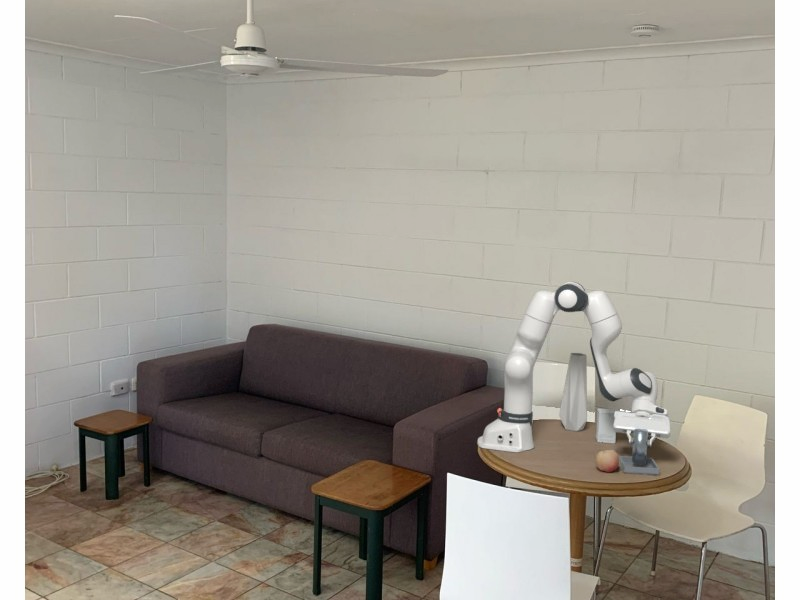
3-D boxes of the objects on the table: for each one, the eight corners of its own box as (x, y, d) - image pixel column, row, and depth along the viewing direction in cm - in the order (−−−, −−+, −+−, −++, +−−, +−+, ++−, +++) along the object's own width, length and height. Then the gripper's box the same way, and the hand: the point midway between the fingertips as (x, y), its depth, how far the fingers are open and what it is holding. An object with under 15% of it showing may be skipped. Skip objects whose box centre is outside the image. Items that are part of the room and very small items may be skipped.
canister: (633, 463, 276) (635, 431, 274) (630, 459, 281) (632, 427, 279) (647, 464, 275) (649, 432, 274) (644, 460, 280) (646, 428, 279)
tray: (624, 473, 273) (624, 466, 272) (618, 462, 285) (619, 455, 284) (659, 475, 271) (659, 468, 271) (652, 464, 283) (652, 458, 283)
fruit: (604, 466, 280) (606, 445, 279) (622, 472, 274) (624, 450, 273) (590, 469, 276) (591, 448, 275) (608, 476, 269) (609, 454, 268)
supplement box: (615, 443, 308) (617, 413, 307) (597, 442, 309) (598, 412, 308) (613, 438, 315) (615, 409, 314) (595, 437, 317) (597, 407, 315)
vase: (577, 434, 319) (582, 358, 315) (555, 428, 328) (559, 353, 324) (594, 429, 327) (598, 355, 324) (571, 423, 336) (575, 350, 332)
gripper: (614, 404, 286) (610, 436, 278) (671, 410, 278) (669, 443, 270) (615, 413, 290) (610, 444, 282) (671, 419, 283) (668, 452, 275)
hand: (640, 444), depth 276 cm, fingers closed on canister, 5 cm apart
